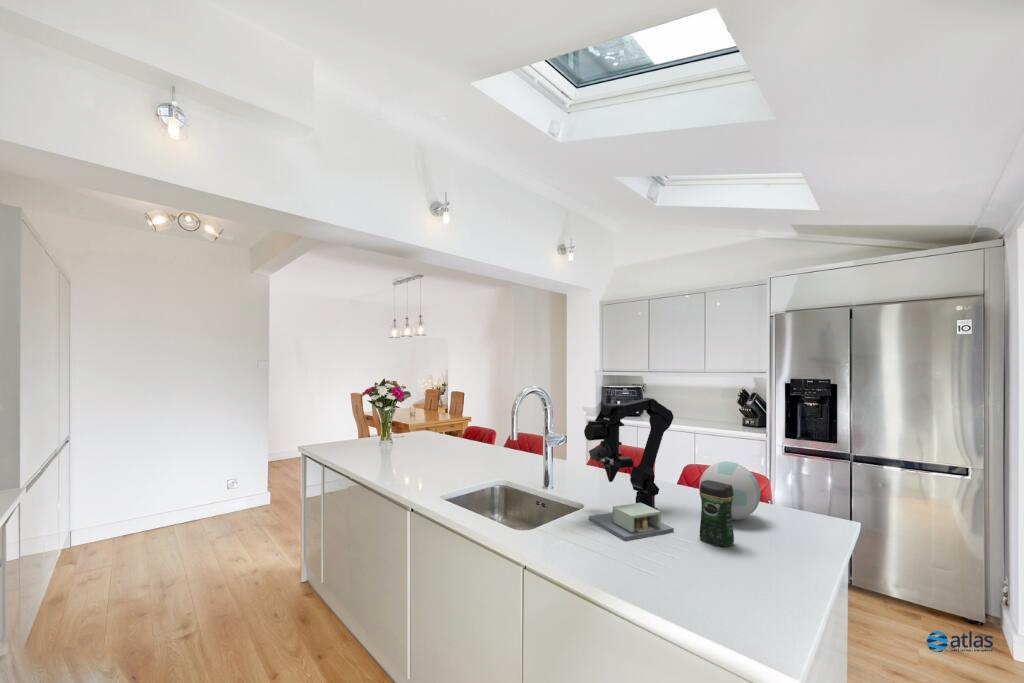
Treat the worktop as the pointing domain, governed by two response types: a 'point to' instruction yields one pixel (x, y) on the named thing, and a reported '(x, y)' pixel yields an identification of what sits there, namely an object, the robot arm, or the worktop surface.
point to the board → (623, 533)
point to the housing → (635, 515)
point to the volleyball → (736, 486)
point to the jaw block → (639, 522)
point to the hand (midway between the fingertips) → (610, 481)
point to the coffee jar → (716, 513)
